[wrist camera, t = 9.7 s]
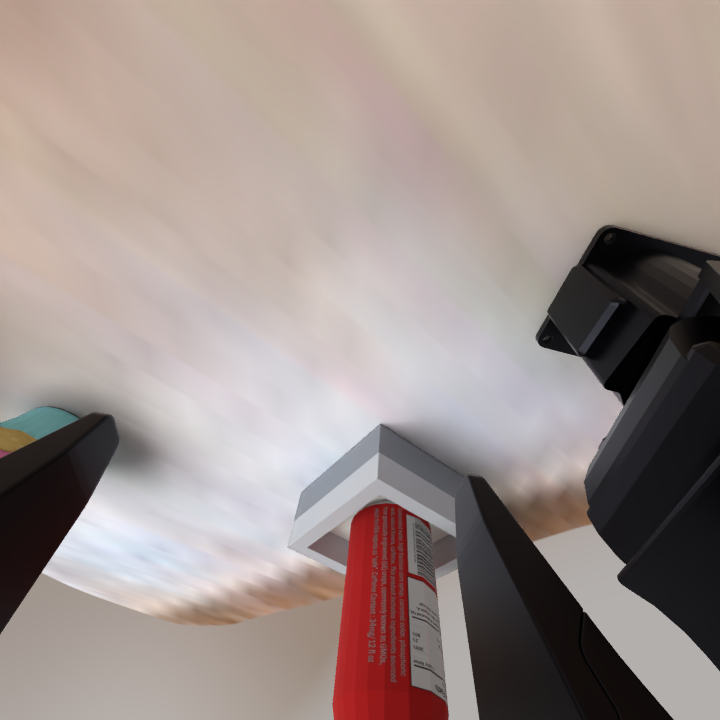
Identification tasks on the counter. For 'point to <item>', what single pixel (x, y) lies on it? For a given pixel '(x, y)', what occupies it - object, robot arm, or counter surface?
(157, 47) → the counter surface
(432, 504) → the socket block
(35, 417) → the cupcake
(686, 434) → the robot arm
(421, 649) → the soda can
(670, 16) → the counter surface
